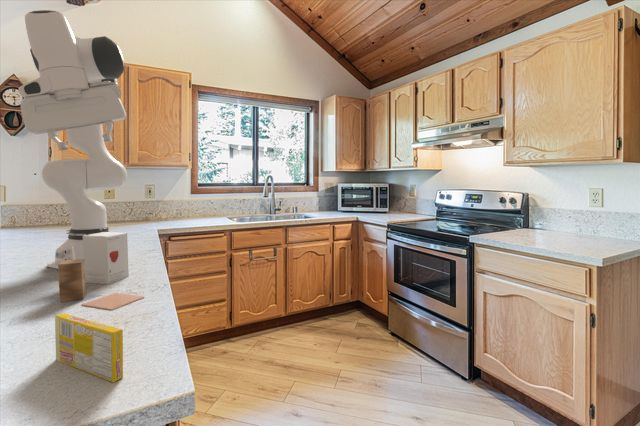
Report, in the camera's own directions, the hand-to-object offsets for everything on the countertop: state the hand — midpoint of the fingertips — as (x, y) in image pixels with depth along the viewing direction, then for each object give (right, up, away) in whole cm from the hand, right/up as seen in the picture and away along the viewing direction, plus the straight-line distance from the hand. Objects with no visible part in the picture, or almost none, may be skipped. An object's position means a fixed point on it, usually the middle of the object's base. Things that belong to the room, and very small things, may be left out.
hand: (86, 146), depth 84 cm
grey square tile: (-11, -39, +11) cm, 42 cm away
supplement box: (-13, -37, +30) cm, 50 cm away
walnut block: (-11, -39, +11) cm, 42 cm away
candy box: (+15, -43, -23) cm, 51 cm away
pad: (+1, -39, +9) cm, 40 cm away
